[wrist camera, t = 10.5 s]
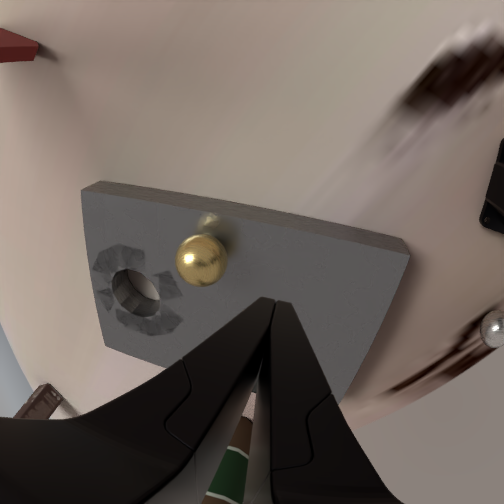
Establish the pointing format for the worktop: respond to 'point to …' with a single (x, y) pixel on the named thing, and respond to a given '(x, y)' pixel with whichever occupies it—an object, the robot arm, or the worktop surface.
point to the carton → (16, 47)
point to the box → (40, 403)
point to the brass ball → (201, 260)
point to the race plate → (235, 274)
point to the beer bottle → (232, 468)
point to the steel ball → (493, 329)
